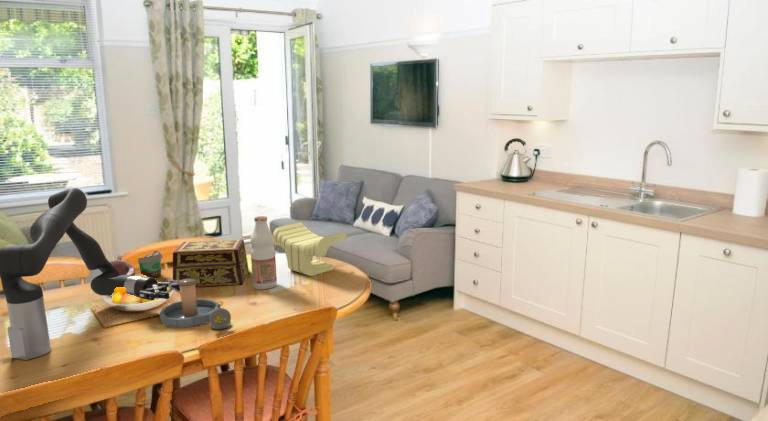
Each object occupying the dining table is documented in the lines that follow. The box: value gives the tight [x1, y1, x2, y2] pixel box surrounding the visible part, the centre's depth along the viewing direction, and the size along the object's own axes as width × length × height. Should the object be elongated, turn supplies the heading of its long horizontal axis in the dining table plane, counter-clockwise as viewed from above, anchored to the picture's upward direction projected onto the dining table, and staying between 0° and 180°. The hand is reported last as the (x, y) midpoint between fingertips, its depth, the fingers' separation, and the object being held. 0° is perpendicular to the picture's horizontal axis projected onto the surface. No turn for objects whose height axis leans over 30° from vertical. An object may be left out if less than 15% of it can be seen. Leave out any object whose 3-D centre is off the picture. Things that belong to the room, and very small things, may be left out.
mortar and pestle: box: [109, 259, 136, 276], centre depth 228 cm, size 12×12×12 cm
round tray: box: [159, 298, 219, 328], centre depth 198 cm, size 19×19×3 cm
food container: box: [137, 250, 163, 280], centre depth 241 cm, size 12×6×10 cm, turn 168°
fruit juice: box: [250, 215, 278, 290], centre depth 225 cm, size 9×9×28 cm
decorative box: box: [172, 238, 250, 289], centre depth 236 cm, size 28×19×15 cm
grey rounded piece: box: [209, 301, 232, 330], centre depth 187 cm, size 8×8×10 cm
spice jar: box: [179, 278, 198, 317], centre depth 197 cm, size 5×5×12 cm
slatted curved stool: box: [272, 221, 347, 277], centre depth 246 cm, size 30×16×18 cm, turn 47°
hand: (177, 291), depth 198 cm, fingers open, 8 cm apart
